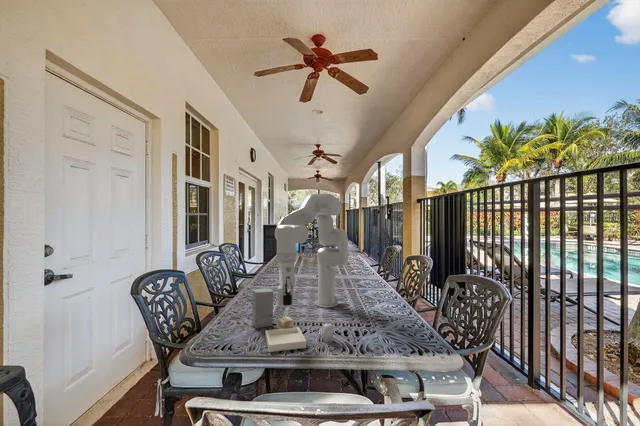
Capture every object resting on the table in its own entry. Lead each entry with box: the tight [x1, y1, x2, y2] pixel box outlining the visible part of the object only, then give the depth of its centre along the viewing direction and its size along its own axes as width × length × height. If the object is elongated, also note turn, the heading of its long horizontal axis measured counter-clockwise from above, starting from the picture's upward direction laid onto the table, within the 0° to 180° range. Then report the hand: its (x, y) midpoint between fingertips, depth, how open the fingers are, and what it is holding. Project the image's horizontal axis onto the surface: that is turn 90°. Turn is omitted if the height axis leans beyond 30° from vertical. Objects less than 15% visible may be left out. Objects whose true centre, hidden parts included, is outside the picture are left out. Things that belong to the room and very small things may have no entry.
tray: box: [264, 326, 307, 353], centre depth 117 cm, size 14×14×2 cm
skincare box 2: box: [277, 284, 295, 308], centre depth 117 cm, size 6×6×7 cm
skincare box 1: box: [251, 288, 274, 329], centre depth 134 cm, size 8×7×16 cm
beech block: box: [277, 316, 294, 329], centre depth 128 cm, size 5×5×5 cm
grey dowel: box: [322, 323, 334, 343], centre depth 119 cm, size 4×4×6 cm
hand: (285, 301), depth 117 cm, fingers closed on skincare box 2, 6 cm apart
